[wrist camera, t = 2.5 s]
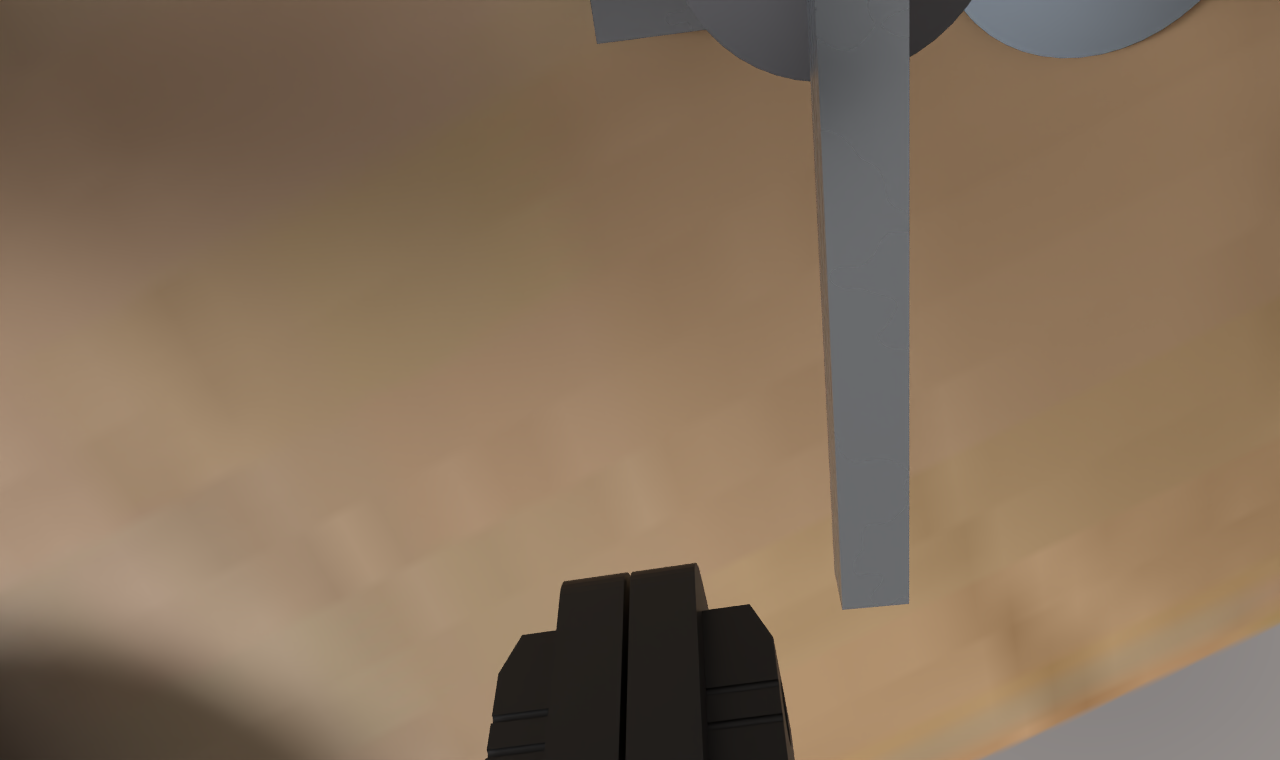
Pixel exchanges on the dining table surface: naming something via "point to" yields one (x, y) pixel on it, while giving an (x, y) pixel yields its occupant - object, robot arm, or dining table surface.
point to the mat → (1074, 23)
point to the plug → (800, 29)
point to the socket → (641, 19)
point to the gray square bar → (864, 285)
